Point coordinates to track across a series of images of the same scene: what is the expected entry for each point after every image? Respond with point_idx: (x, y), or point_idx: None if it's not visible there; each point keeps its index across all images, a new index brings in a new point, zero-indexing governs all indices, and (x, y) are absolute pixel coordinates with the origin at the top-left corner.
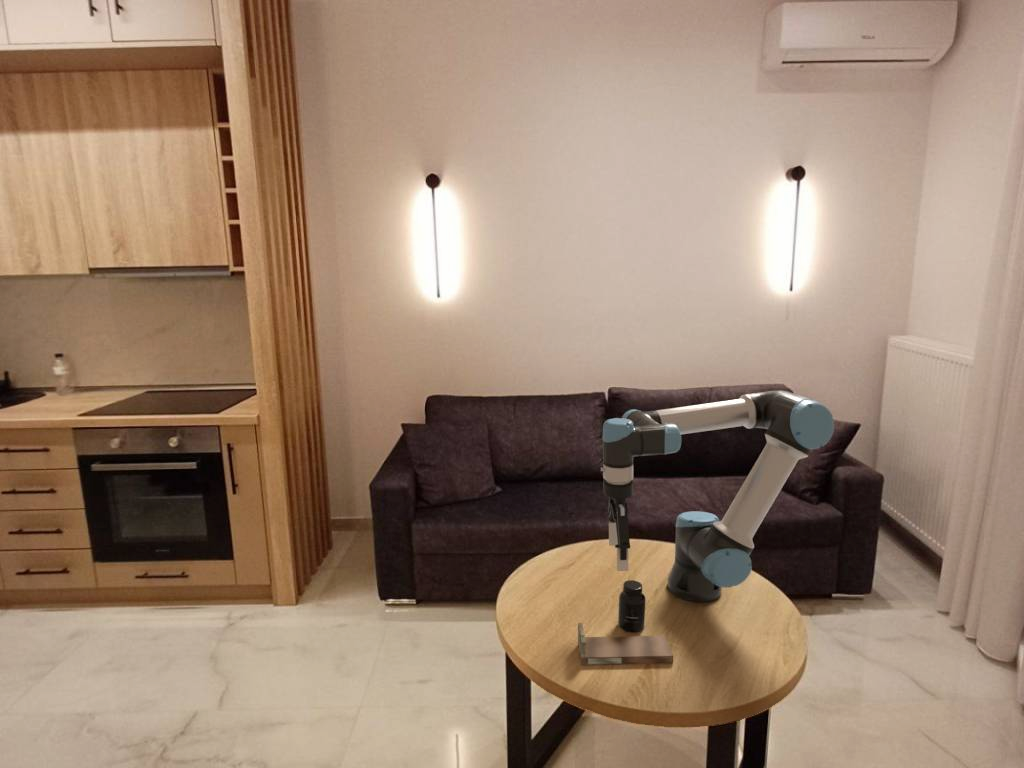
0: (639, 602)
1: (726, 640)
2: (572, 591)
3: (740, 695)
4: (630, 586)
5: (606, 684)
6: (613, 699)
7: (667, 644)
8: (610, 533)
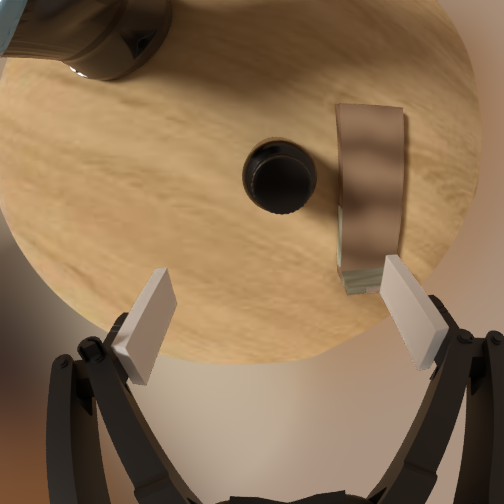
0: (313, 162)
1: None
2: None
3: (453, 40)
4: (294, 195)
5: (432, 232)
6: (456, 226)
7: (369, 107)
8: (159, 339)
